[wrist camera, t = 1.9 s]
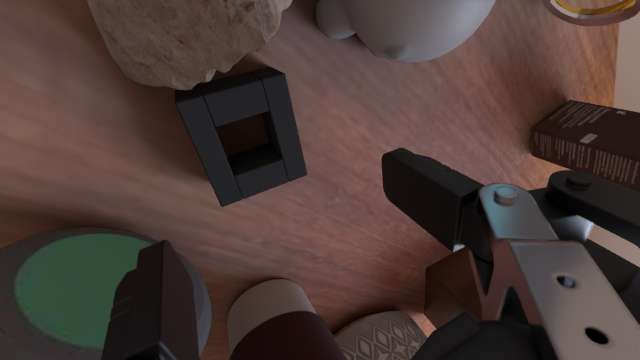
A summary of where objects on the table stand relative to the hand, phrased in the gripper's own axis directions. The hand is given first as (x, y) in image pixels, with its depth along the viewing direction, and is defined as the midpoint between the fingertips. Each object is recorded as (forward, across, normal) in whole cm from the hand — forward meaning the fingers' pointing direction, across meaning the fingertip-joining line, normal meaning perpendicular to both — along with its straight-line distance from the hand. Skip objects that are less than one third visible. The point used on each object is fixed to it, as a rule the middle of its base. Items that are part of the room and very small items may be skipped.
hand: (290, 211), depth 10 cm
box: (+10, -33, +11) cm, 36 cm away
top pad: (+10, 0, 0) cm, 10 cm away
